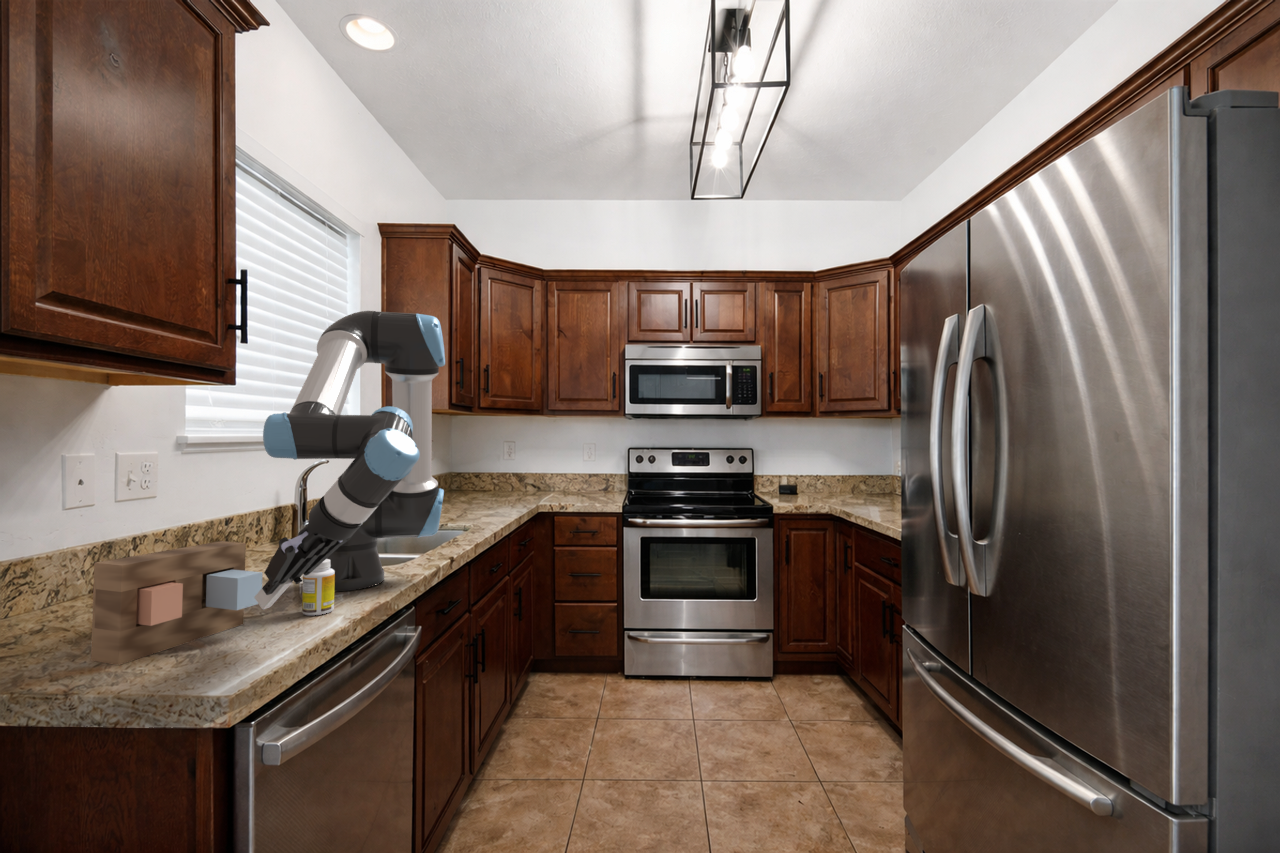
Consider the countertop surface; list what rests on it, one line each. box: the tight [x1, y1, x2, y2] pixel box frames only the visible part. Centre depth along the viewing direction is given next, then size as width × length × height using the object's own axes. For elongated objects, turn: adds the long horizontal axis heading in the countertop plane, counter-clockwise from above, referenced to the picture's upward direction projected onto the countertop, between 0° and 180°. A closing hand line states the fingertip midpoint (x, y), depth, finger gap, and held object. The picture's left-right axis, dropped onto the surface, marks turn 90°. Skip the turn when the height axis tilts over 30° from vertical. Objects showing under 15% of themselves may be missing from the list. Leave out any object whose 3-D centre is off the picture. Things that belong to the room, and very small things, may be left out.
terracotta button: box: [136, 582, 183, 626], centre depth 91 cm, size 5×7×5 cm, turn 74°
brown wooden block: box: [90, 540, 247, 666], centre depth 96 cm, size 20×6×15 cm, turn 164°
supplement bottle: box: [301, 559, 335, 617], centre depth 113 cm, size 6×6×10 cm
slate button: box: [206, 570, 264, 610], centre depth 99 cm, size 5×7×5 cm, turn 74°
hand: (262, 602), depth 96 cm, fingers closed
